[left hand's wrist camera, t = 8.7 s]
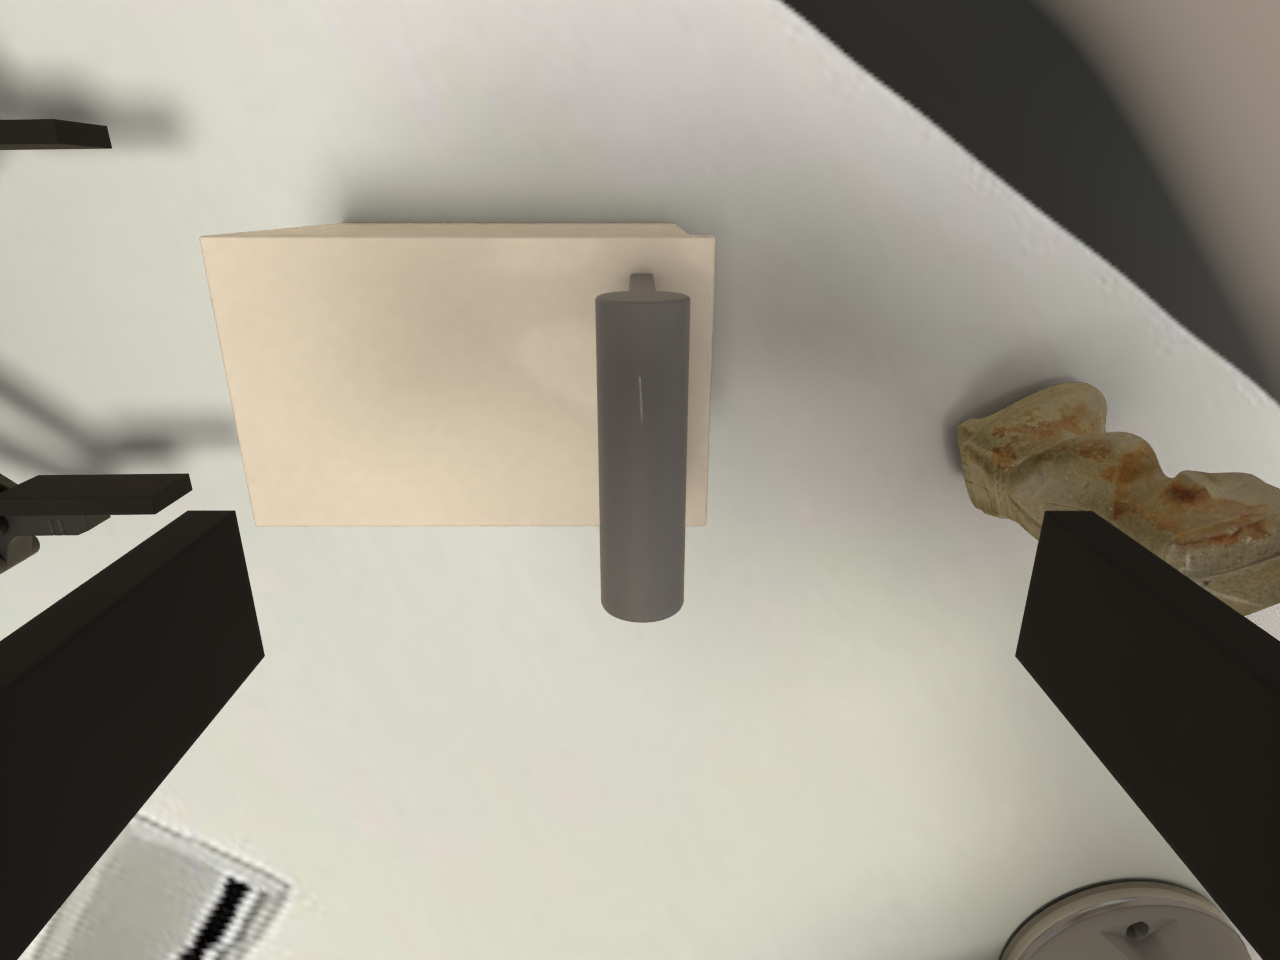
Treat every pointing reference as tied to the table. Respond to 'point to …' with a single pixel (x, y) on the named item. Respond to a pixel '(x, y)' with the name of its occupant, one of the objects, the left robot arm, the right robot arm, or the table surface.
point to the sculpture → (1124, 492)
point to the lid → (477, 387)
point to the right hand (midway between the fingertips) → (133, 328)
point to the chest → (479, 229)
